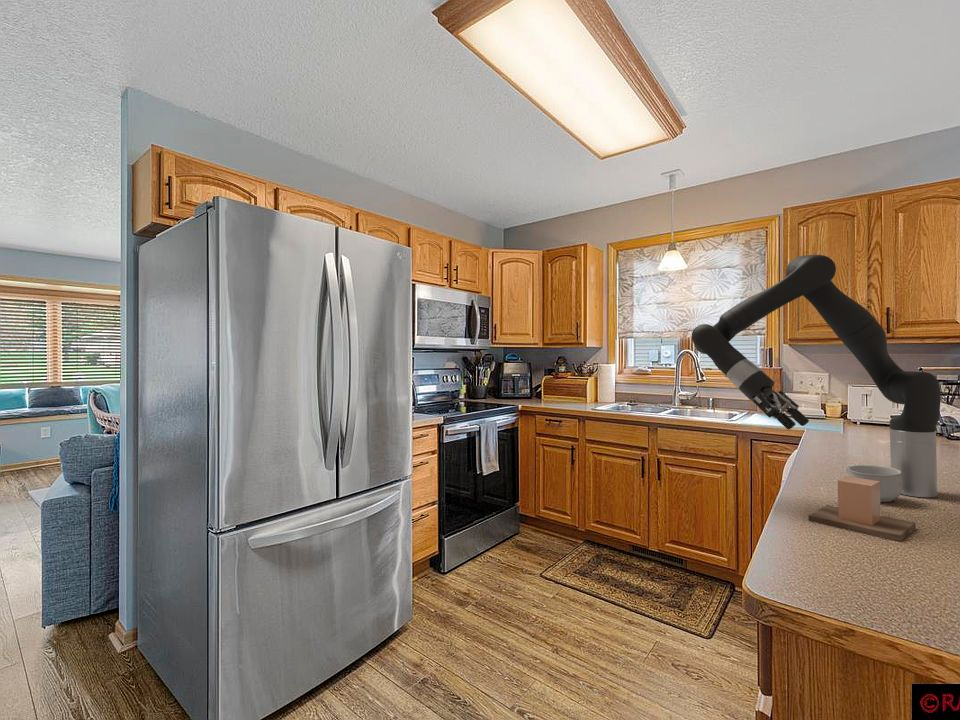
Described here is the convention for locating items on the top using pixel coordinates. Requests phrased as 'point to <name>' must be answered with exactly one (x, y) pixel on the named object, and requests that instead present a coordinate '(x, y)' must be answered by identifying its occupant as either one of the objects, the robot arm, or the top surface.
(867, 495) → the peach colored cube
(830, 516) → the board
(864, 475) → the teacup
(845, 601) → the top surface
